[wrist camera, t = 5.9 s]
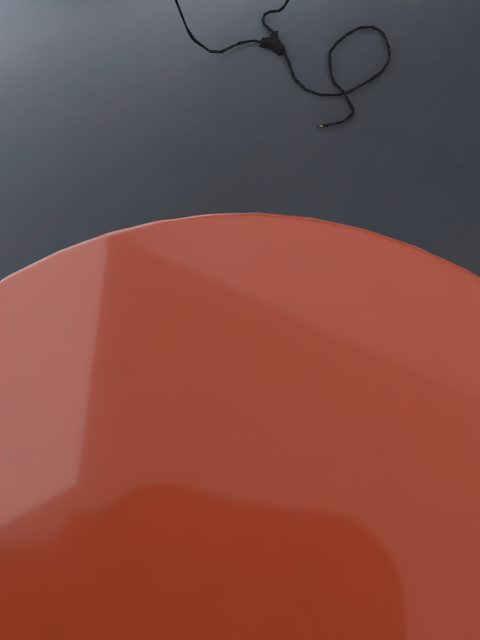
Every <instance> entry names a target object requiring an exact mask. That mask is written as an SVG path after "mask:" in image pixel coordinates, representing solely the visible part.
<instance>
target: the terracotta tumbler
mask: <svg viewBox="0 0 480 640" xmlns="http://www.w3.org/2000/svg"><path fill="white" fill-rule="evenodd" d="M0 640H480V277H479V276H477V275H475V274H474V273H472V272H470V271H468V270H467V269H465V268H463V267H461V266H459V265H456V264H454V263H452V262H450V261H448V260H445V259H443V258H441V257H439V256H437V255H434V254H432V253H430V252H428V251H426V250H423V249H421V248H419V247H417V246H415V245H412V244H409V243H406V242H403V241H400V240H397V239H394V238H391V237H388V236H385V235H382V234H379V233H376V232H373V231H369V230H366V229H363V228H359V227H354V226H349V225H345V224H340V223H335V222H330V221H326V220H321V219H316V218H311V217H300V216H290V215H280V214H269V213H211V214H203V215H195V216H187V217H179V218H172V219H164V220H158V221H154V222H149V223H145V224H141V225H137V226H133V227H129V228H125V229H121V230H117V231H113V232H109V233H106V234H103V235H100V236H98V237H95V238H92V239H89V240H87V241H84V242H81V243H79V244H76V245H73V246H70V247H68V248H65V249H62V250H59V251H57V252H55V253H53V254H51V255H49V256H47V257H45V258H43V259H41V260H39V261H37V262H35V263H33V264H31V265H29V266H27V267H25V268H23V269H21V270H19V271H17V272H15V273H12V274H10V275H9V276H7V277H5V278H4V279H2V280H1V281H0Z"/></svg>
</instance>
